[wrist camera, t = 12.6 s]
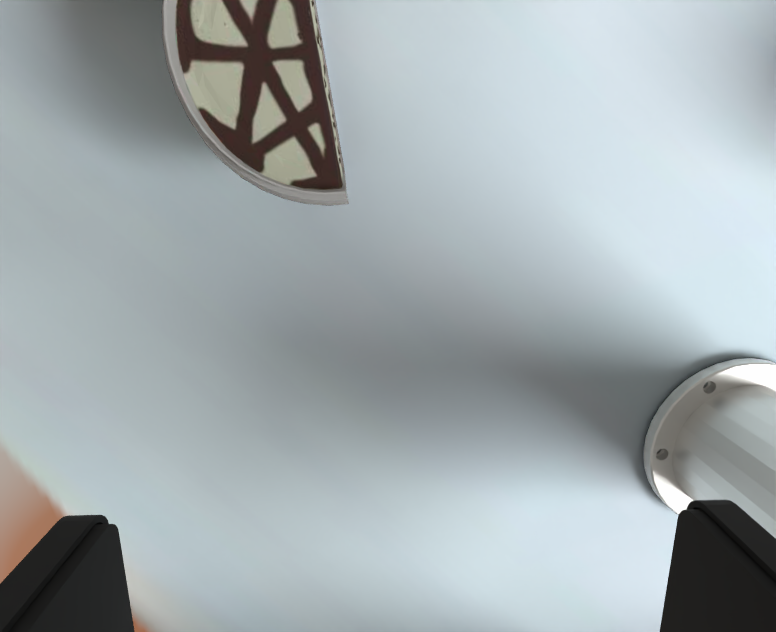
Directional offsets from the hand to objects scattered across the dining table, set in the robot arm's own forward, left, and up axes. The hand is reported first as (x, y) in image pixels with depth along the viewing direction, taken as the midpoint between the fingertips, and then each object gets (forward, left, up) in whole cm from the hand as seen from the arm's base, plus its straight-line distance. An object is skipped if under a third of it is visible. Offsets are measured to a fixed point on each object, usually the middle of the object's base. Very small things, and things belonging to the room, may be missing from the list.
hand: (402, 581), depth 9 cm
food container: (+4, -11, -24) cm, 27 cm away
